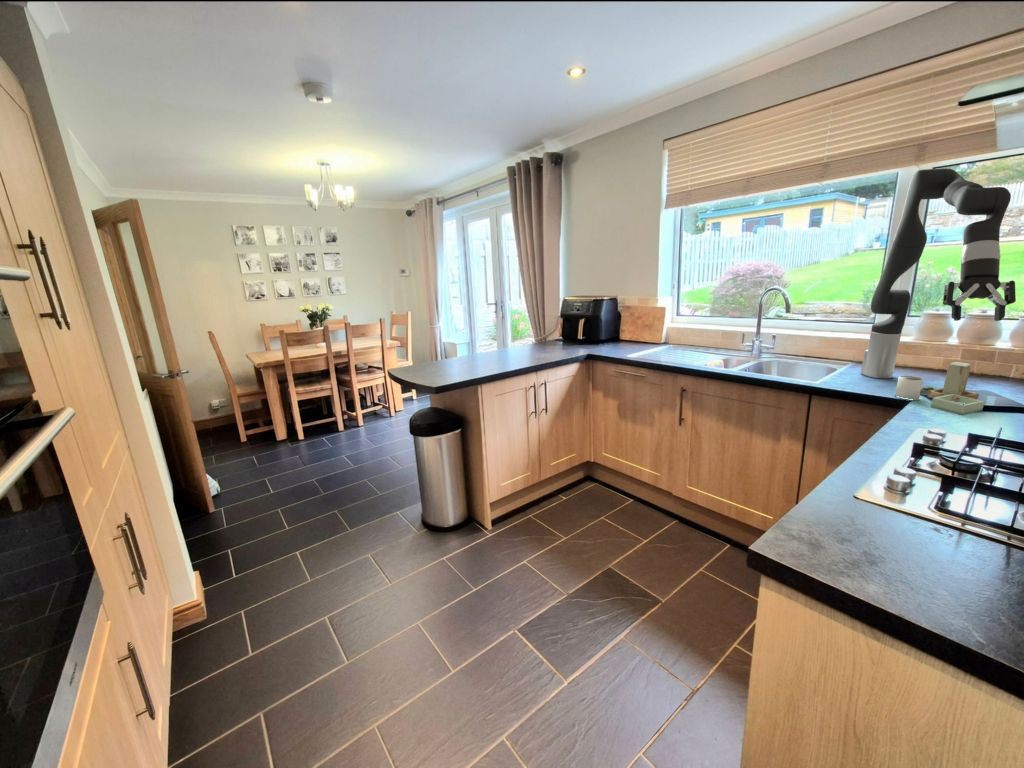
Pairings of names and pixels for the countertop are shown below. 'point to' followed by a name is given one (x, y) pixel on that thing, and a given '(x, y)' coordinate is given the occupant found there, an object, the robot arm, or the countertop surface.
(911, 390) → the cup
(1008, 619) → the countertop surface
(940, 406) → the trough
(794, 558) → the countertop surface
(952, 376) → the skincare box
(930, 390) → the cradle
